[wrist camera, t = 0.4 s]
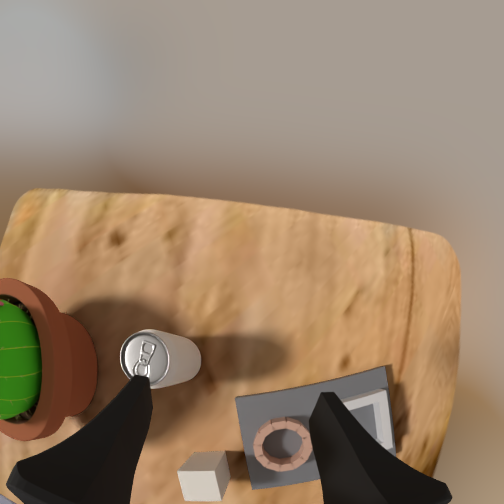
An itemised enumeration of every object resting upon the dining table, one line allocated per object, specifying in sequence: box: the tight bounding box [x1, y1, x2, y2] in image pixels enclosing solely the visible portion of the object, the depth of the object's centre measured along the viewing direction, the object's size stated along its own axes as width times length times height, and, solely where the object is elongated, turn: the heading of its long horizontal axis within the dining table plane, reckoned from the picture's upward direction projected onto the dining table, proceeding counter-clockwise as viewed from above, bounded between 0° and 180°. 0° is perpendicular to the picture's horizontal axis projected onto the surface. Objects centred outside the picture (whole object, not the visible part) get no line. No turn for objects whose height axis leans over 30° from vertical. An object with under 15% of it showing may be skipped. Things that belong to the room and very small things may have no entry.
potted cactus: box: [0, 278, 98, 441], centre depth 26 cm, size 22×22×25 cm
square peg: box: [177, 451, 231, 501], centre depth 28 cm, size 4×4×8 cm
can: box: [120, 329, 201, 389], centre depth 32 cm, size 6×6×12 cm
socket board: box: [235, 366, 396, 490], centre depth 31 cm, size 14×20×4 cm
